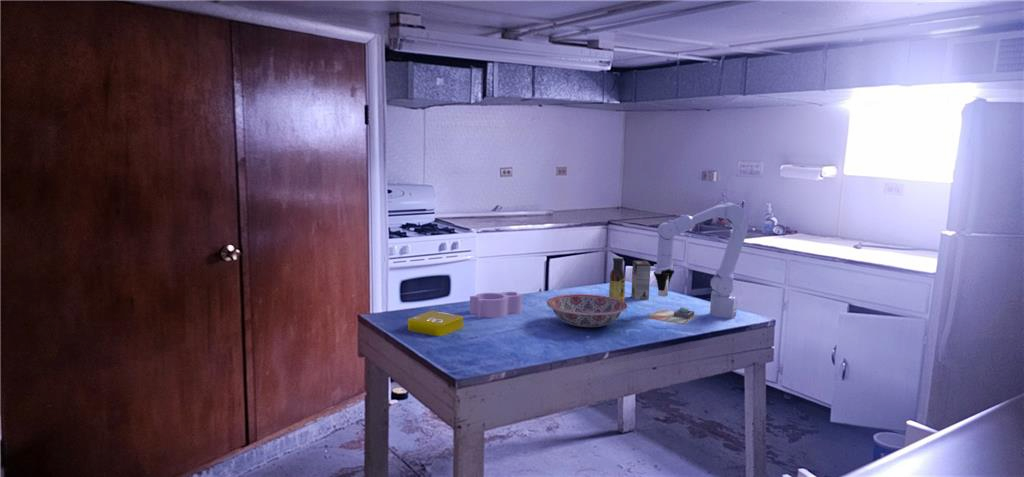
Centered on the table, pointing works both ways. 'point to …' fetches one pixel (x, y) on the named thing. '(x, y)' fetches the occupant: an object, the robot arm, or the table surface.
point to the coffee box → (640, 280)
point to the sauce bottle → (617, 280)
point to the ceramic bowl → (586, 309)
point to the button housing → (683, 314)
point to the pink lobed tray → (495, 304)
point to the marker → (665, 292)
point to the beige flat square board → (668, 317)
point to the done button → (684, 310)
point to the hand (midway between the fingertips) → (663, 289)
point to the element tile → (435, 323)
